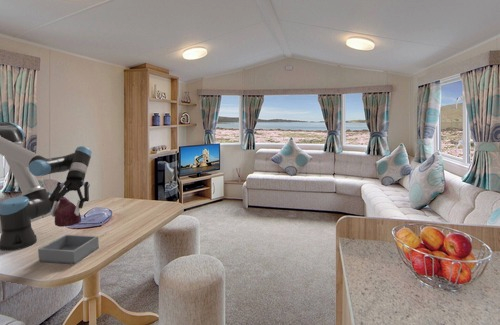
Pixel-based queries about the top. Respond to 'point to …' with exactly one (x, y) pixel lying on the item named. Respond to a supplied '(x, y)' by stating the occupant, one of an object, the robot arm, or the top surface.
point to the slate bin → (68, 249)
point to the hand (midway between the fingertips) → (64, 214)
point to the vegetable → (66, 213)
